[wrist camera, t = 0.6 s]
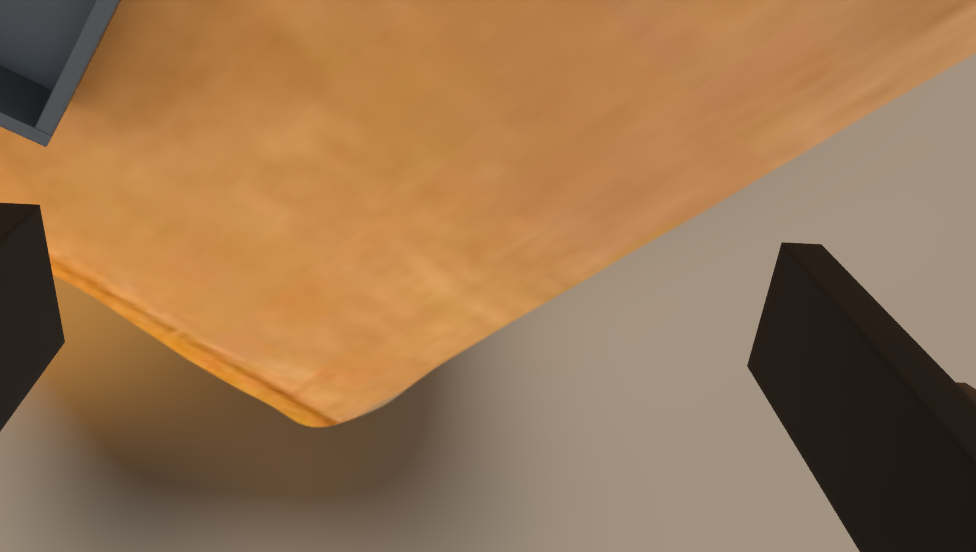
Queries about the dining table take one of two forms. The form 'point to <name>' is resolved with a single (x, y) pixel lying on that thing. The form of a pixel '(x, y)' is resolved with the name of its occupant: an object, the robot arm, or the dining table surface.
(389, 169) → the dining table surface
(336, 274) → the dining table surface
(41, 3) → the grey bin
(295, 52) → the dining table surface
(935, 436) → the robot arm
